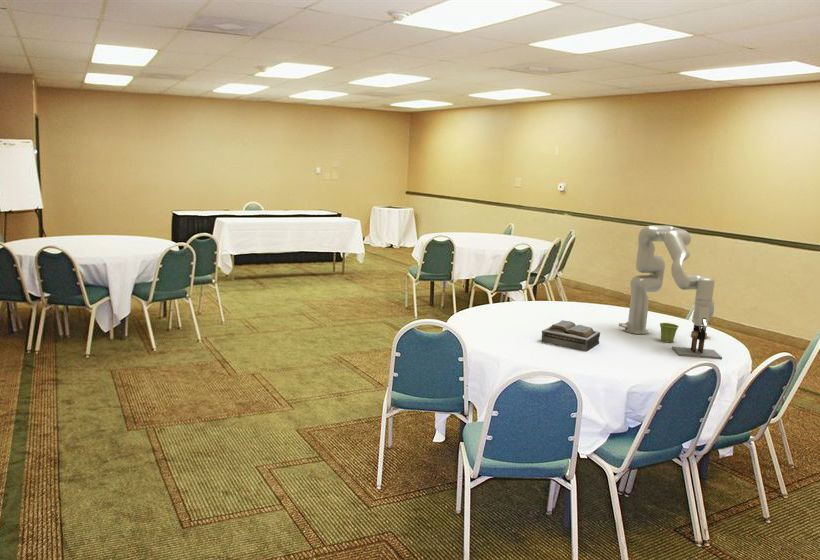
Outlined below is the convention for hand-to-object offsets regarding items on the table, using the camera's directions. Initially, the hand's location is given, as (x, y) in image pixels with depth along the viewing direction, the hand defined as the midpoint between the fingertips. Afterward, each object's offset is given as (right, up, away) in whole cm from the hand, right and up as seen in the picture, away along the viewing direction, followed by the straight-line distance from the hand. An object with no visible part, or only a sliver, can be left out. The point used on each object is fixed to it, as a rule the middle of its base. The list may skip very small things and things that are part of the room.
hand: (698, 337), depth 322 cm
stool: (0, -7, +1) cm, 7 cm away
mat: (0, -8, +1) cm, 8 cm away
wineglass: (+18, -3, +35) cm, 39 cm away
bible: (-61, -4, +10) cm, 62 cm away
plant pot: (-6, -4, +23) cm, 24 cm away
